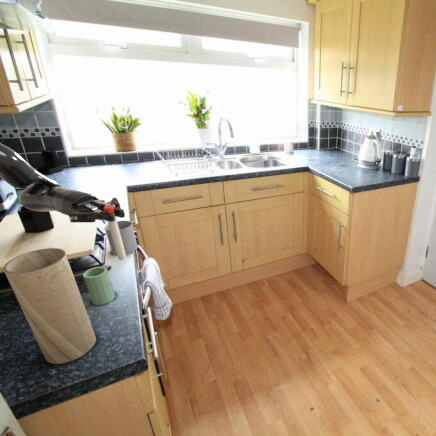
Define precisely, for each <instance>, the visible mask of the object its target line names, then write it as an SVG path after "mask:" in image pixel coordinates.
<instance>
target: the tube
mask: <svg viewBox="0 0 436 436" xmlns="http://www.w3.org/2000/svg"><path fill="white" fill-rule="evenodd" d="M71 267H72V266H71V265H70V262H69V259H68V257H67V253H66V251H65V250H64V249H62V248H56V247H49V248H41V249H36V250H32V251H28V252H25V253H22V254H20V255H18V256H15V257H14V258H12V259H10V260H8V261H7V262H6V263H4V265H3V272H4V274H5V277H6V278H7V281H8V283H9V284H10V287H11V288H12V292H13V294H14V295H15V297H16V300H17V302H18V303H19V306H20V309H21V310H22V313H23V315H24V317H25V319H26V321H27V323H28V324H29V327H30V329H31V331H32V333H33V336H34V338H35V340H36V342H37V344H38V346H39V348H40V351H41V353H42V355H43V357H44V359H45V361H46V362H47V363H49V364H52V365H61V364H66V363H70V362H72V361H75V360H77V359H79V358H81V357H82V356H84V355H86V354H87V353H88V352H89V351H91V349H92V348H94V345H95V344H96V342H97V337H96V334H95V331H94V328H93V325H92V323H91V320H90V317H89V314H88V312H87V309H86V306H85V304H84V300H83V298H82V295H81V292H80V289H79V287H78V284H77V281H76V279H75V276H74V273H73V270H72V268H71Z"/></svg>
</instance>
